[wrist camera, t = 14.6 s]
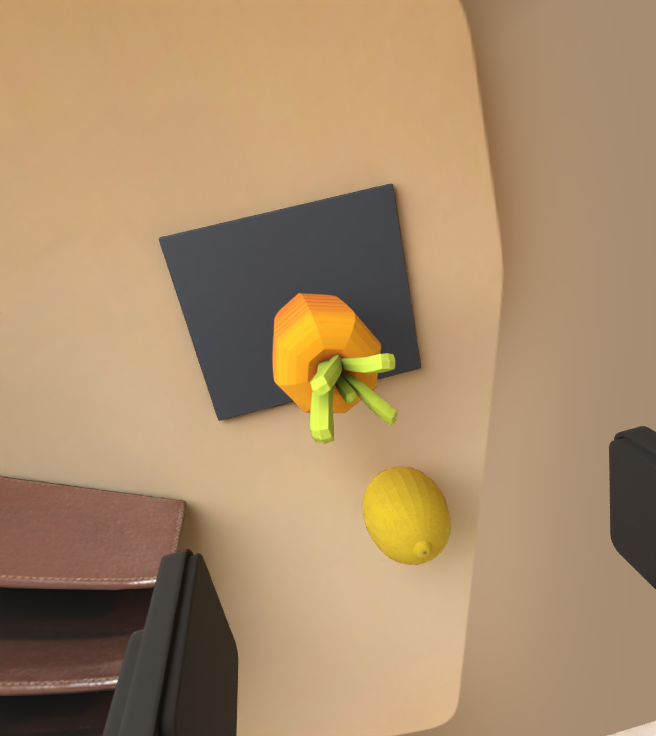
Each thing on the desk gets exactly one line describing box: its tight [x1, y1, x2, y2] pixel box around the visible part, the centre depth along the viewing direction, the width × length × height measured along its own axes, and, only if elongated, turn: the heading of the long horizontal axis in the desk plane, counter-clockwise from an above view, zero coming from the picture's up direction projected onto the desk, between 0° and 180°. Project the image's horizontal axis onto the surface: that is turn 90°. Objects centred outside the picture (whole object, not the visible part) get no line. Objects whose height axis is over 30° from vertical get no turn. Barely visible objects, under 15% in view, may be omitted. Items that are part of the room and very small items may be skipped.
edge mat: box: [159, 184, 421, 421], centre depth 32 cm, size 14×12×1 cm
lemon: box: [363, 467, 451, 565], centre depth 34 cm, size 6×6×8 cm
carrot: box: [273, 293, 397, 443], centre depth 25 cm, size 5×5×15 cm
